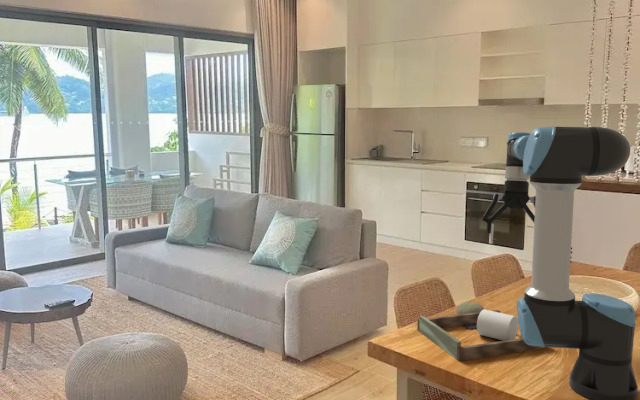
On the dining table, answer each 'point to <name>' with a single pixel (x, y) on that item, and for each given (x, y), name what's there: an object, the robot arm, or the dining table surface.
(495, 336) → the mug
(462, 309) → the sea urchin shell
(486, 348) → the wooden tray
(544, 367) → the dining table surface
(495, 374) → the dining table surface
